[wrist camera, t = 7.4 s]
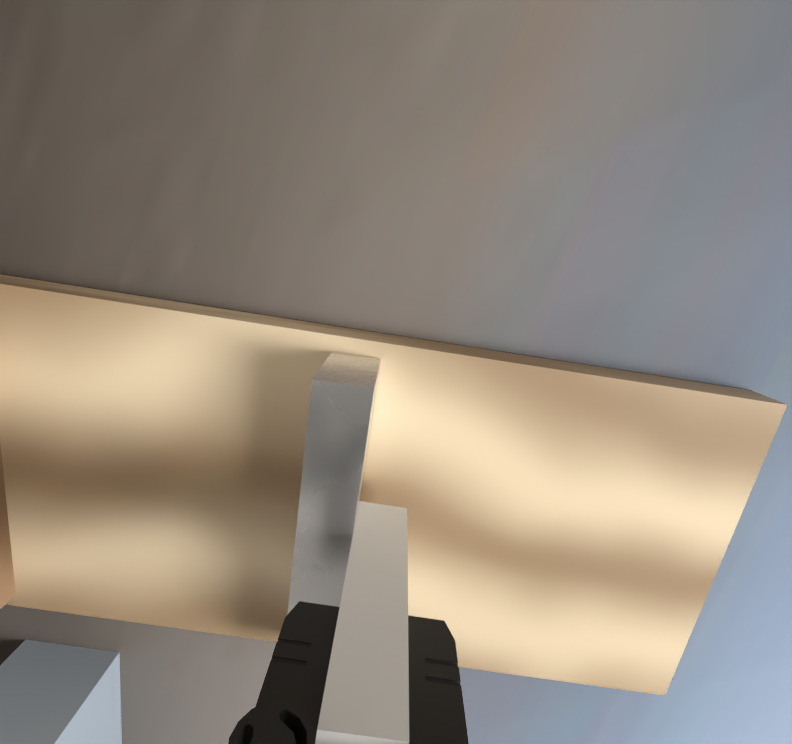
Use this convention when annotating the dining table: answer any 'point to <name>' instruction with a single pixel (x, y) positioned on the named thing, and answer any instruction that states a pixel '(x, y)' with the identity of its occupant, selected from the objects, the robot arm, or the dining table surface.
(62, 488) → the shelf board
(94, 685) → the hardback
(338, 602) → the sliding bookend
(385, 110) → the dining table surface
